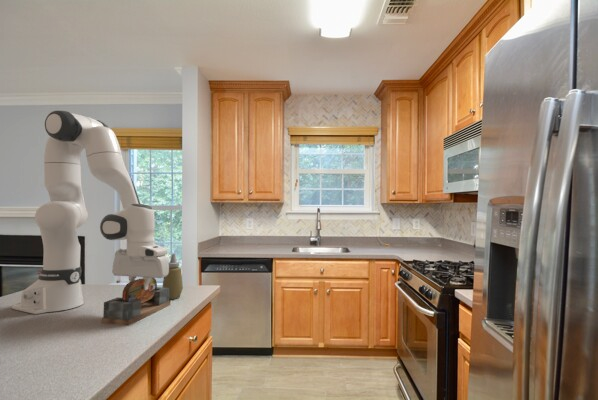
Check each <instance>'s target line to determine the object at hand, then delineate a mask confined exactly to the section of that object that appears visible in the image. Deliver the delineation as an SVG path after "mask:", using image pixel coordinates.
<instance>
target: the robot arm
mask: <svg viewBox="0 0 598 400" xmlns="http://www.w3.org/2000/svg"><path fill="white" fill-rule="evenodd" d="M44 129H45V132H46V133H47V134H48V136H49V137H48V138H47V141H46V144H45V148H44V153H43V154H44V156H43V167H44V168H43V170H44V171H43V173H44V174H43V175H44V176H43V177H44V187H45V188H46V190H47V192H48V197H49V199H50V202H47V203H43V204H42V205H41V206H39V207H38V208H37V209H36V212H35V215H34V220H35V223H36V224H37V226H38V227H39V231H40V235H41V239H42V245H43V246H42V247H43V261H42V265H43V266H42V269H41V270H37V271H36V275H38V279H37V280H36V281H34V282H33V283H32V284H31V285H29V286H27V288H25V289H24V290H23V291H22V293H21V297H20V302H18V303H14V304H13V305H12V306H11V309H12V310H16V311H20V312H25V313H28V314H33V315H37V314H45V313H53V312H60V311H66V310H71V309H74V308H78V307H80V306H82V305H84V303H85V302H84V296H83V288H82V287H83V286H82V280H81V276H82V266H81V249H82V247H81V244H80V241H79V238H78V236H79V235H78V232H77V229H79V228H81V227H82V226H83V225H84V224H86V221H88V217H89V212H88V210H87V207H86V203H85V197H84V192H83V187H82V168H81V166H82V165H81V164H82V163H81V154H82V153H81V152H82V151H83V150H84V149H85V150H84V151H85V157H86V161H87V165H88V166H87V167H88V169H89V171H90V173H91V174H92V176H93V178H95V179H97V180H98V181H101V182H102V183H104V184H106V185H108V186H109V187H111V188H112V189H113V190H115V192H116V193H117V194H118V196H119V199H120V203H121V205H122V210H120V211H119V210H118V211H117V212H113V213H110V214H109V213H108V214H106V215H105V216H104V217H103V218H102V220H101V221H100V223H99V230H100V233H101V235H102V236H103V238H105V239H106V240H109V241H120V240H121V241H123V240H126V248H125V249H122V248H119V249H117V250H116V251H115V252H114V258H113V263H112V274H113V276H115V277H128V281H129V282H131V281H134V280H136V278H143V277H144V280H146V281H145V283H144V284H143V285H141V287H142V288H141V289H142V290H147V289H148V284H149V283H150V281H151V279H152V278H155V279H164V277H166V276H167V275H168V273H169V263H170V261H169V258H168V256H167V255H168V248H167V247H163V246H161V245H159V244H156V243H155V239H156V238H155V237H154V233H155V230H156V218H155V216H156V215H155V211H154V208H153V207H152V206H151V205H148V204H142V203H141V201H140V199H139V195H138V193H137V189H136V185H135V183H134V181H133V179H132V176H131V175H130V174H129V172H128V170H127V167H126V165H125V161H124V158H123V154H122V149H121V146H120V142H119V141H118V137H117V136H116V133H115V132H114V130H112V129H111V128H110V127H109V125H107V124H105V122H103V121H101V120H98V119H94V118H92V117H89V116H86V115H83V114H78V113H72V112H69V111H66V110H53V111H50V112H49V114H48V115H47V116H46V118H45V121H44Z"/></svg>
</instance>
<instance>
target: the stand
mask: <svg viewBox="0 0 598 400" xmlns="http://www.w3.org/2000/svg"><path fill="white" fill-rule="evenodd" d="M169 306H171V300H170V299H169V288H163V286H162V287H161V286H157V289H156V291H155V295H154V296H153V298H152V299H150V300H148V301H146V302H144V303H142V304H141V299H134V300H132V301H129V302H123V300H122V297H115V298H112V299H109V300H107V301H104V302H103V317H101V318H100V319H101V320H100V322H101V324H108V325H119V326H131V325H133V324H135V323H137V322H139V321H141V320H143V319H145V318H146V317H148V316H149V317H150V316H152V315H153V314H155V313H157V312H159V311H161V310H163V309H165V308H167V307H169Z"/></svg>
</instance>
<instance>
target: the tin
mask: <svg viewBox="0 0 598 400" xmlns="http://www.w3.org/2000/svg"><path fill="white" fill-rule="evenodd" d="M156 279H157V278H152V279H151V281H150V283H149V284H148V289H147V290H142V289H141V288H142V287H141V285H143V284H144V283H145V281H146V280H144V277H139V278H138V279H135V280H134V281H131V282H130V281H129V282H128V283H126V285H124V288H123V290H122V294H121V296H122V297H121V298H122V300H123V302H129V301H132V300H134V299H141V304H142V303H144V302H146V301H148V300H150V299H152V298H153V296H154V295H155V291H156V289H157V287H158V285H157V284H158V283H157V280H156Z"/></svg>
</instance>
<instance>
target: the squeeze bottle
mask: <svg viewBox="0 0 598 400" xmlns="http://www.w3.org/2000/svg"><path fill="white" fill-rule="evenodd" d="M182 273H183V272H182V268H181V267H180V262H178V261H177V258H176V254H175V253H172V254H171V257H170V261H169V273H168V275H167V276H166V277H163V278H162V279H163V280H162V287H163V288H169V300H176V299H179V298H180V297H181V296H182V295H181V294H182V292H183V289H184V286H183V274H182Z"/></svg>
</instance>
